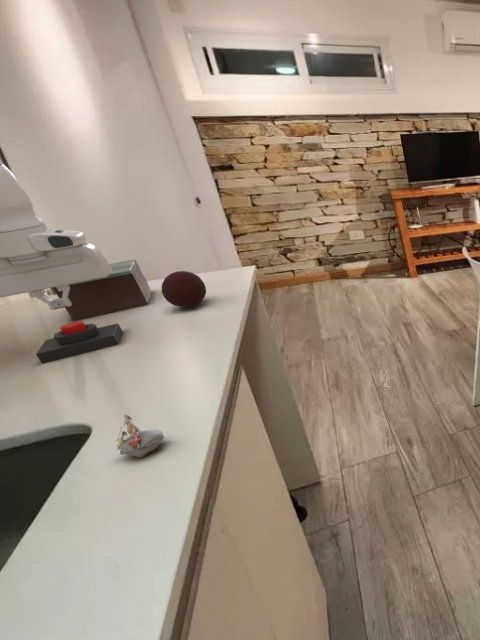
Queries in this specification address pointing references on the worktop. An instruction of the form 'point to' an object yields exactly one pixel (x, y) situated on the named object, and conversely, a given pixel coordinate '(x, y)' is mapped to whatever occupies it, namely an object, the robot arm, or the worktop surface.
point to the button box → (79, 342)
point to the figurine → (138, 440)
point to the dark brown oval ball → (183, 289)
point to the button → (73, 327)
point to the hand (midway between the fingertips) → (62, 307)
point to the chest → (107, 295)
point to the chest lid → (116, 270)
